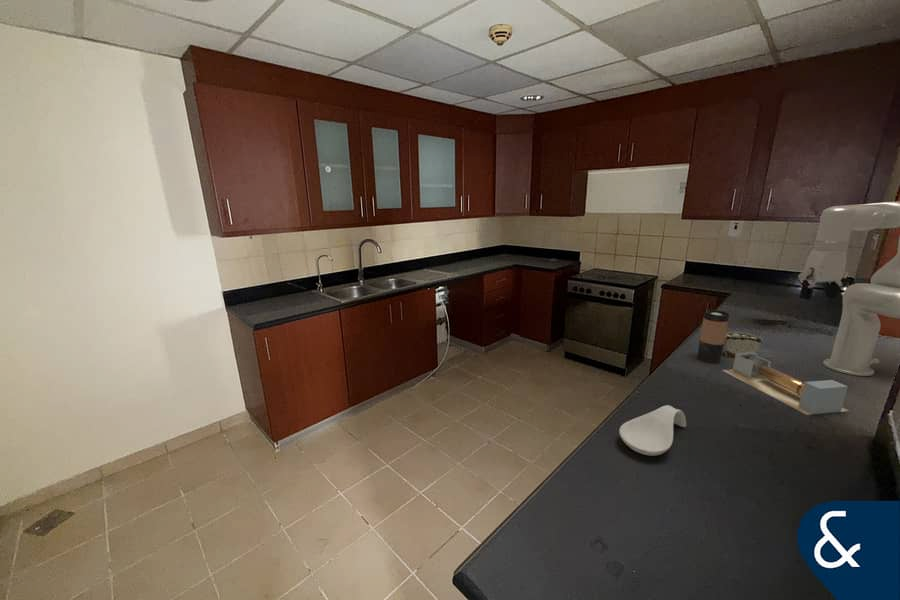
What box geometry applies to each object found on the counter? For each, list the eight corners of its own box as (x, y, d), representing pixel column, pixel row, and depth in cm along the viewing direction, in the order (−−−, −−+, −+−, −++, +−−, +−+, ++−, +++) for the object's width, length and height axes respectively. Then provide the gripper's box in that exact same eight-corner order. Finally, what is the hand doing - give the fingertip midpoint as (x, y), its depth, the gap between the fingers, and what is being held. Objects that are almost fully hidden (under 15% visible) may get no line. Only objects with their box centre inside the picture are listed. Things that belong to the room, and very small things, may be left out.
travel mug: (724, 366, 136) (733, 316, 131) (701, 365, 137) (710, 315, 132) (714, 358, 143) (722, 310, 138) (692, 357, 145) (700, 309, 139)
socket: (825, 404, 108) (832, 379, 106) (840, 411, 104) (847, 386, 102) (798, 406, 107) (804, 382, 105) (812, 414, 103) (819, 388, 101)
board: (756, 370, 133) (757, 367, 132) (849, 413, 105) (850, 410, 104) (721, 372, 131) (722, 370, 131) (805, 417, 103) (806, 414, 103)
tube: (756, 377, 122) (759, 365, 121) (767, 376, 123) (770, 364, 122) (814, 405, 105) (817, 392, 104) (826, 404, 106) (830, 391, 104)
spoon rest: (655, 470, 85) (659, 444, 83) (609, 444, 94) (611, 420, 92) (699, 433, 98) (703, 410, 96) (654, 414, 107) (657, 392, 105)
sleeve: (749, 369, 131) (752, 351, 129) (767, 378, 124) (771, 359, 122) (732, 370, 130) (735, 352, 129) (750, 379, 124) (754, 360, 122)
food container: (752, 356, 144) (756, 332, 142) (759, 362, 139) (764, 338, 136) (715, 353, 148) (719, 330, 146) (721, 358, 143) (725, 335, 140)
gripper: (840, 244, 121) (828, 294, 125) (794, 246, 119) (783, 296, 123) (868, 247, 114) (854, 299, 118) (819, 249, 112) (806, 302, 116)
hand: (818, 298), depth 121 cm, fingers open, 9 cm apart
